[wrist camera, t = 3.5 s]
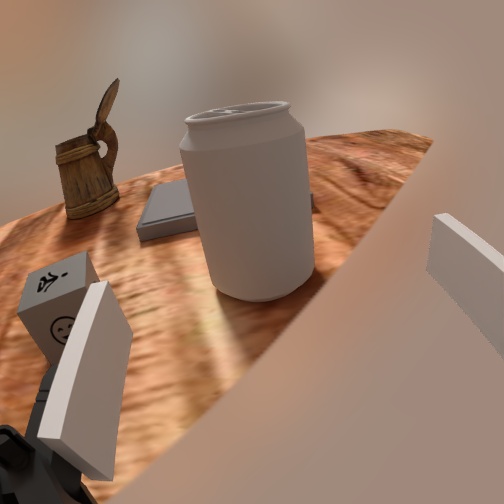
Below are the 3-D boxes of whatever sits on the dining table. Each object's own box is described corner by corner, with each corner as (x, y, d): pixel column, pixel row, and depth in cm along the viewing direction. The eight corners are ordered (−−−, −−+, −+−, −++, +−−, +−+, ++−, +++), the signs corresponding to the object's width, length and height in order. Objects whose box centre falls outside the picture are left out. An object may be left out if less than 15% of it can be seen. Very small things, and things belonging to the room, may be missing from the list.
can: (312, 311, 19) (295, 106, 13) (199, 308, 21) (149, 127, 15) (317, 248, 26) (304, 94, 20) (227, 249, 28) (199, 108, 21)
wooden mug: (142, 201, 43) (111, 76, 33) (60, 224, 41) (25, 110, 32) (149, 183, 50) (124, 78, 41) (77, 203, 49) (49, 105, 40)
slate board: (140, 241, 32) (135, 227, 31) (157, 195, 44) (154, 184, 43) (313, 207, 32) (312, 192, 32) (282, 170, 44) (281, 159, 44)
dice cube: (57, 325, 22) (28, 273, 19) (111, 305, 23) (86, 250, 20) (55, 369, 17) (16, 312, 15) (117, 347, 19) (85, 286, 16)
